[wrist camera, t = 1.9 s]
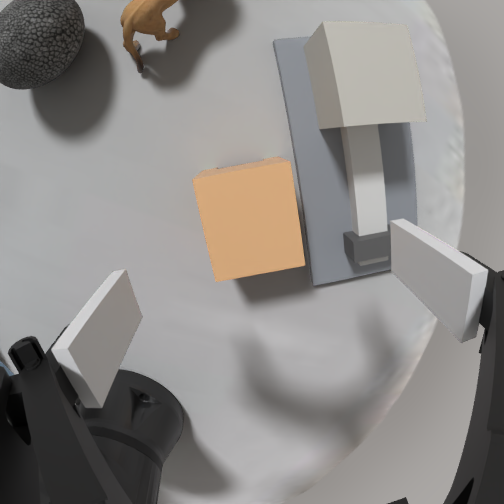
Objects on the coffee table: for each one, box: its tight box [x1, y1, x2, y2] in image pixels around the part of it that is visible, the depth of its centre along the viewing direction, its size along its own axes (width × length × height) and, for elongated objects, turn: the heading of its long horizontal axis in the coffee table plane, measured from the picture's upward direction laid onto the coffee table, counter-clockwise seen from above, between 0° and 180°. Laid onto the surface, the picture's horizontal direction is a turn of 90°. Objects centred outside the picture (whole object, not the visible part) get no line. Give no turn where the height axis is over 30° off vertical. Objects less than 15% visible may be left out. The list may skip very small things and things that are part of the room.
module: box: [192, 157, 305, 282], centre depth 27 cm, size 7×8×7 cm
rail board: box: [273, 21, 427, 286], centre depth 25 cm, size 12×24×8 cm, turn 10°
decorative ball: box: [0, 0, 85, 89], centre depth 18 cm, size 10×10×10 cm
